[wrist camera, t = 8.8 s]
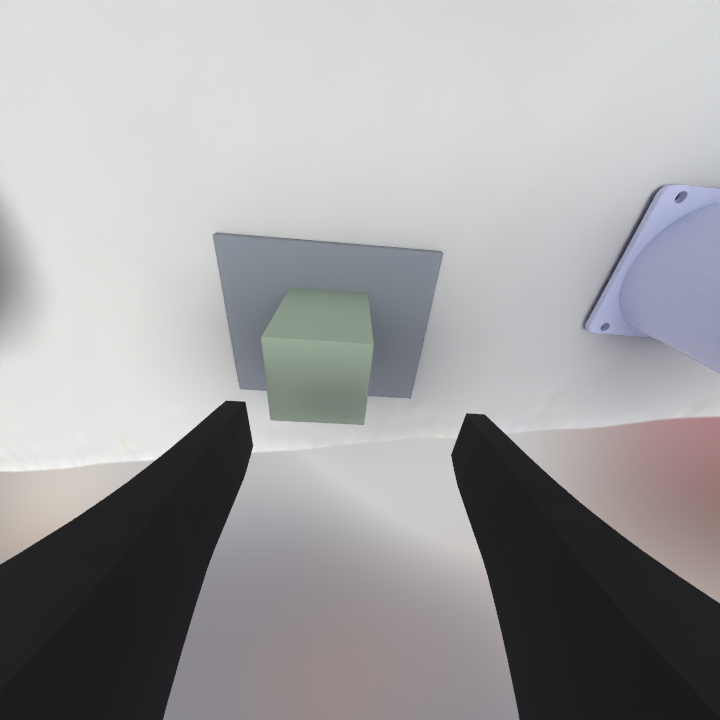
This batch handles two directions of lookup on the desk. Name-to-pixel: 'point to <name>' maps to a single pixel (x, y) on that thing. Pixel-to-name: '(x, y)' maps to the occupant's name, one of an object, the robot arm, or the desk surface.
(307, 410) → the green block
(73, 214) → the desk surface
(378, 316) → the mat
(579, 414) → the desk surface
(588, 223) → the desk surface
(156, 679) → the robot arm
